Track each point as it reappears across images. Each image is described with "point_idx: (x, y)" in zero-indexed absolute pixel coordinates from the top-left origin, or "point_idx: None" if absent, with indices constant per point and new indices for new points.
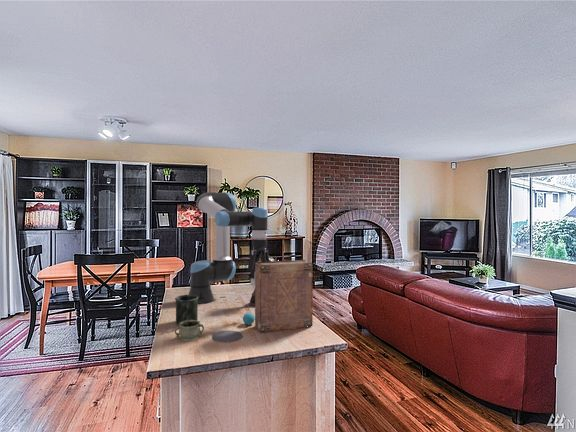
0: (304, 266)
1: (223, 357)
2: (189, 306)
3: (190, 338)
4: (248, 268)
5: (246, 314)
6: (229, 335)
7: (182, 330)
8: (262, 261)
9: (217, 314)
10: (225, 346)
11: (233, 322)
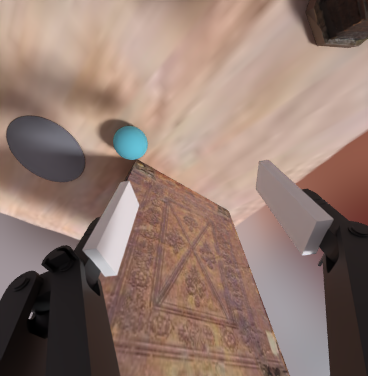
0: None
1: (7, 207)
2: None
3: None
4: (7, 301)
5: (117, 147)
6: (52, 155)
7: None
8: (349, 327)
9: None
10: (24, 183)
11: (112, 87)
